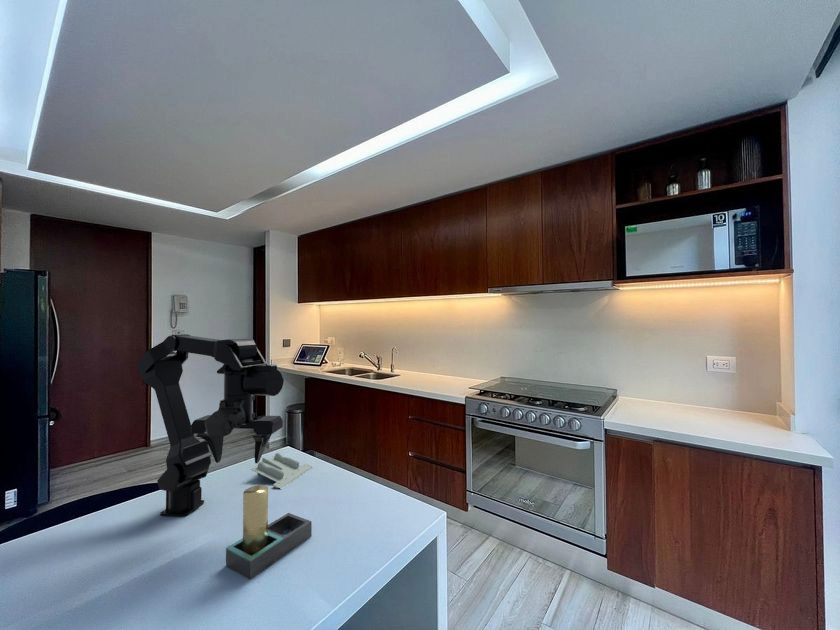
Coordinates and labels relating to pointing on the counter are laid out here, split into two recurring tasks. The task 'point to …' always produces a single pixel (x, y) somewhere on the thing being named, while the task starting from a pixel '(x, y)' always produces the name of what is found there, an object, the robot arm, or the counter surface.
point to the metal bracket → (281, 469)
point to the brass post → (255, 519)
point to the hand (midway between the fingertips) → (237, 462)
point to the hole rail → (269, 546)
